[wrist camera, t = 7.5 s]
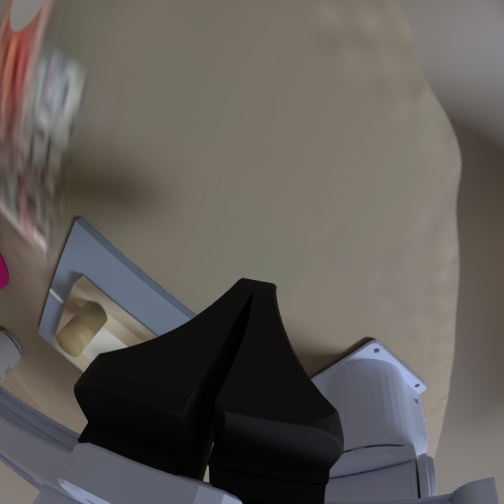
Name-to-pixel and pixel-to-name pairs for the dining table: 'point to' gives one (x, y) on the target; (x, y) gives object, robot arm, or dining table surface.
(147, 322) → the board
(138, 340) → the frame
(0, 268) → the pepper mill
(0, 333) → the energy drink can
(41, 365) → the dining table surface
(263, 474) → the robot arm
